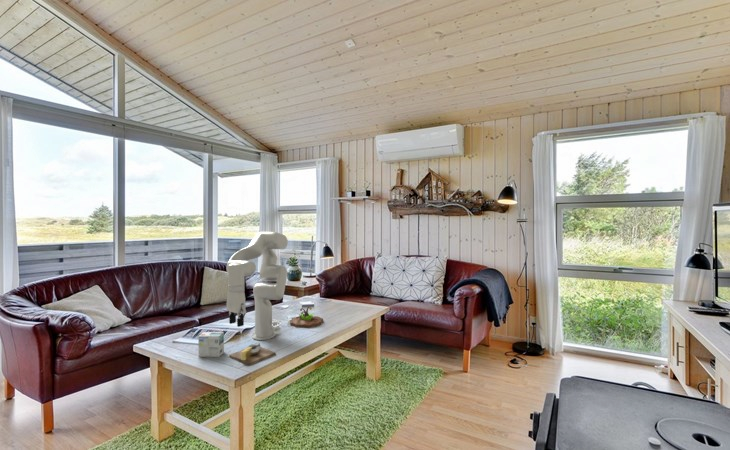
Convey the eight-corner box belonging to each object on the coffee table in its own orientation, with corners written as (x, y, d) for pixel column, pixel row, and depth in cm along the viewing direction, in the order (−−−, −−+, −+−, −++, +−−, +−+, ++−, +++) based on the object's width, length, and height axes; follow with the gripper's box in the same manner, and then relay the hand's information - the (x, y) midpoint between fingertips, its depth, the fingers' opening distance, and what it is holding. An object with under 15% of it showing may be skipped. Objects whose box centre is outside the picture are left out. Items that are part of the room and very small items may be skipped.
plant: (312, 330, 226) (312, 312, 225) (285, 326, 233) (285, 308, 232) (327, 321, 244) (327, 304, 244) (301, 317, 251) (302, 301, 251)
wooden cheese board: (255, 347, 196) (255, 337, 196) (275, 354, 186) (275, 344, 186) (229, 356, 183) (229, 346, 183) (249, 365, 173) (249, 354, 173)
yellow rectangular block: (252, 348, 191) (252, 340, 190) (263, 349, 189) (263, 341, 189) (237, 359, 176) (237, 351, 176) (249, 360, 175) (249, 352, 175)
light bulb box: (224, 351, 189) (224, 331, 189) (219, 357, 183) (219, 336, 182) (203, 351, 189) (203, 331, 188) (198, 357, 182) (197, 335, 182)
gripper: (219, 286, 181) (220, 322, 182) (239, 292, 170) (239, 330, 171) (233, 284, 187) (233, 319, 188) (253, 289, 176) (253, 326, 177)
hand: (236, 324), depth 179 cm, fingers open, 6 cm apart
